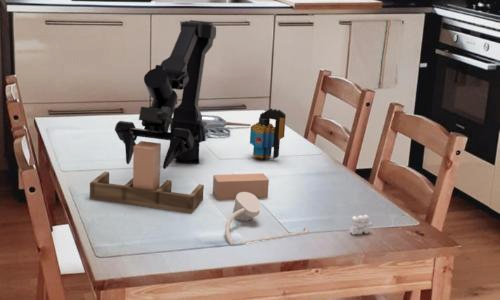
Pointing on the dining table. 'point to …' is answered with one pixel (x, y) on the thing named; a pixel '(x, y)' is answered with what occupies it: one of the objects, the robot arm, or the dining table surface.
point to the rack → (145, 195)
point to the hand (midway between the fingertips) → (145, 165)
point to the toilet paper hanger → (249, 215)
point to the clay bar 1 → (146, 165)
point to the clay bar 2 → (239, 185)
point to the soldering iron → (217, 125)
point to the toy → (267, 134)
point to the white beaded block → (360, 224)
